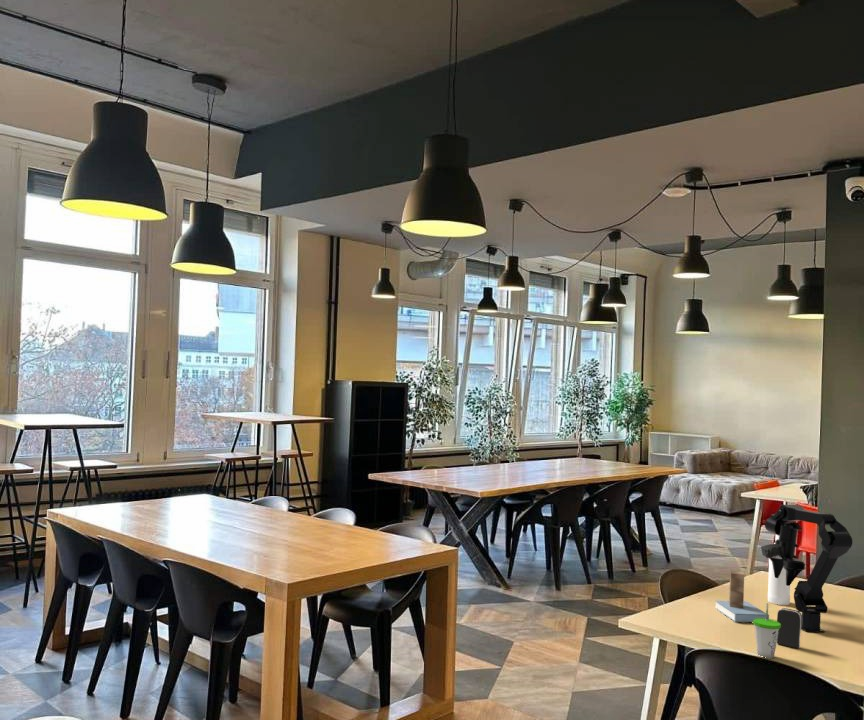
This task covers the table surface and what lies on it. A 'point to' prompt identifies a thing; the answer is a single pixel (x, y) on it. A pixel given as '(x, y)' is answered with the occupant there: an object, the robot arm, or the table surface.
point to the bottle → (778, 586)
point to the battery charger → (789, 627)
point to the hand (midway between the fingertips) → (781, 581)
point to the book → (740, 611)
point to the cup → (766, 635)
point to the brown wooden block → (736, 589)
